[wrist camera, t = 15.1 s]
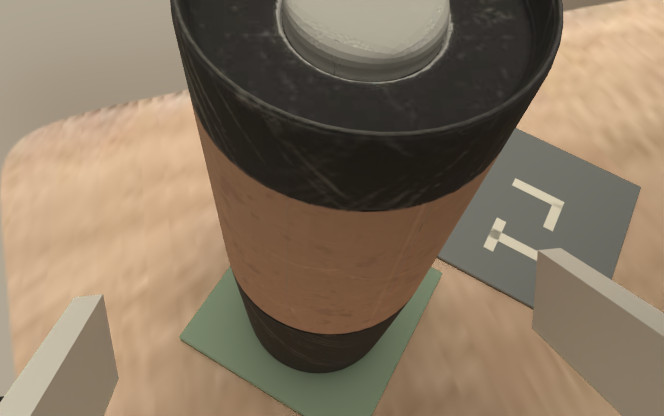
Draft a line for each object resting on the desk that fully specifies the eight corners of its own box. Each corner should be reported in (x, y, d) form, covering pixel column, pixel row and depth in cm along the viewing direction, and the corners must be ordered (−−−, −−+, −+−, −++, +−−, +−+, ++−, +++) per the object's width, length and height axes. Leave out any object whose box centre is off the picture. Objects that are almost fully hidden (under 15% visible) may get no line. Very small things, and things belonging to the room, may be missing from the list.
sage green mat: (439, 277, 29) (442, 273, 29) (354, 448, 25) (355, 447, 24) (286, 194, 31) (286, 188, 31) (181, 340, 27) (179, 337, 26)
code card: (638, 188, 33) (641, 186, 33) (590, 339, 28) (592, 338, 28) (451, 99, 36) (451, 97, 35) (376, 225, 31) (376, 223, 30)
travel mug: (317, 415, 25) (387, 238, 7) (212, 302, 27) (72, -42, 10) (420, 305, 28) (647, -10, 10) (318, 211, 30) (360, -182, 12)
